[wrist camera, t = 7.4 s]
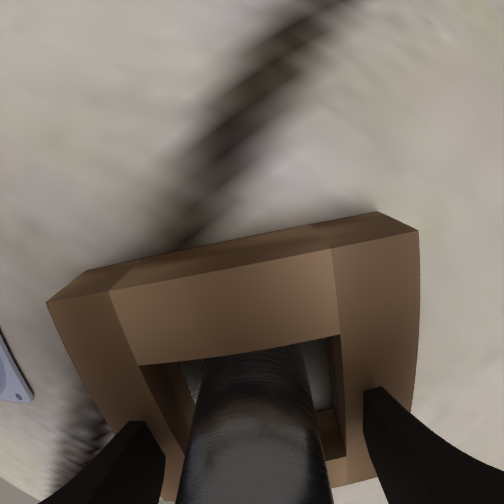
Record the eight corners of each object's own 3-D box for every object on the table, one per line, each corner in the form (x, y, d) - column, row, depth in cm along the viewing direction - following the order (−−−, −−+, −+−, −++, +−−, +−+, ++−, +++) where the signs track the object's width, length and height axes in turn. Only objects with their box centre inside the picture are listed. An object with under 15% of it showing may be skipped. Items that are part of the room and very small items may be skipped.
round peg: (221, 410, 13) (202, 573, 5) (192, 338, 12) (135, 526, 4) (310, 394, 13) (342, 562, 5) (295, 317, 12) (339, 517, 4)
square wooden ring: (174, 457, 14) (164, 500, 11) (86, 270, 11) (45, 302, 8) (381, 427, 14) (399, 469, 11) (378, 211, 11) (418, 230, 8)
